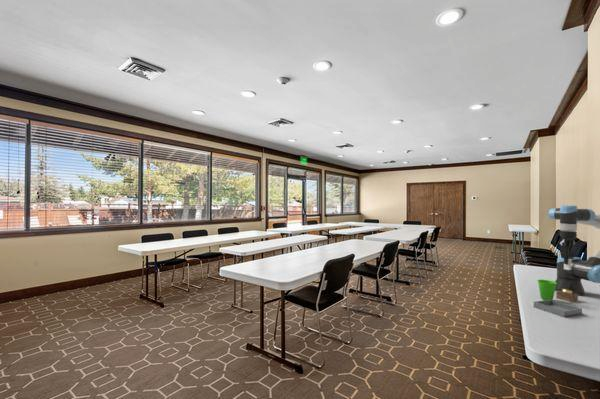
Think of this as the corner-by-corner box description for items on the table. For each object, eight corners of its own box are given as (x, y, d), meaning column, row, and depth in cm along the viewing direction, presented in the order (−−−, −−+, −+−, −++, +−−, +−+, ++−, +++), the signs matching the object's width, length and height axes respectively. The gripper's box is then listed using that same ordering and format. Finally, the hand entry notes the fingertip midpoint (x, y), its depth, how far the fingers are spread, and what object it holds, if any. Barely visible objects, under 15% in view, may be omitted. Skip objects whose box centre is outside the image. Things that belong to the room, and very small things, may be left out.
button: (565, 293, 174) (565, 288, 174) (573, 295, 169) (573, 290, 169) (560, 293, 172) (560, 288, 172) (569, 296, 168) (569, 291, 168)
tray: (550, 304, 161) (550, 299, 161) (582, 314, 148) (582, 308, 148) (533, 307, 157) (533, 301, 157) (564, 317, 143) (564, 311, 143)
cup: (560, 303, 164) (561, 284, 164) (542, 301, 166) (543, 283, 166) (550, 297, 173) (550, 280, 173) (533, 296, 175) (533, 278, 175)
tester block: (563, 297, 175) (563, 290, 175) (577, 300, 169) (577, 294, 169) (556, 298, 173) (556, 291, 173) (570, 302, 166) (570, 295, 166)
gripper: (567, 229, 177) (567, 267, 177) (553, 230, 172) (552, 268, 172) (582, 231, 169) (582, 270, 169) (568, 231, 165) (567, 271, 165)
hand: (567, 269), depth 171 cm, fingers closed
